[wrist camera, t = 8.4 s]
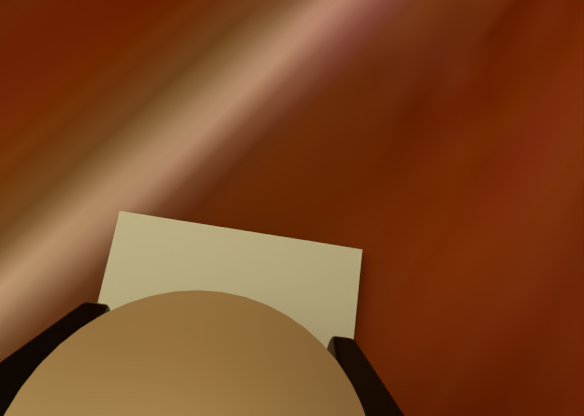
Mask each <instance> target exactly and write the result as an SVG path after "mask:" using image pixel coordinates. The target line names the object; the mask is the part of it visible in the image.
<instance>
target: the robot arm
mask: <svg viewBox="0 0 584 416" xmlns="http://www.w3.org/2000/svg"><path fill="white" fill-rule="evenodd" d="M109 311H110V308H109V306H108V305H106V304H101V303H94V302H85V303H83V304H81V305H79V306H78V307H77V308H75V309H74V310H73V311H71V312H70V313H68V314H67V315H66V316H64V317H63V318H61V319H60V320H59V321H57V322H56V323H54V324H53V325H52V326H50V327H49V328H48V329H46V330H45V331H43V332H42V333H41V334H39V335H38V336H36V337H35V338H34V339H32V340H31V341H29V342H28V343H27V344H25V345H24V346H22V347H21V348H20V349H18V350H17V351H16V352H14V353H13V354H11V355H10V356H9V357H7V358H6V359H4V360H3V361H2V362H0V416H4V415H5V413H6V411H7V409H8V408H9V406H10V405H11V403H12V401H13V400H14V398H15V397H16V395H17V393H18V392H19V390H20V389H21V387H22V386H23V385H24V383H25V382H26V381H27V380H28V378H29V377H30V376H31V375H32V373H33V372H34V371H35V370H36V368H37V367H38V366H39V365H40V364H41V363H42V362H43V361H44V360H45V359H46V358H47V357H48V356H49V355H50V354H51V353H52V352H53V351H54V350H55V349H56V348H57V347H58V346H59V345H60V344H61V343H62V342H64V341H65V340H66V339H67V338H69V337H70V336H71V335H73V334H74V333H75V332H76V331H78V330H79V329H80V328H82V327H83V326H85V325H87V324H88V323H90V322H91V321H93V320H95V319H96V318H98V317H100V316H101V315H103V314H105V313H107V312H109ZM327 350H328V351H329V352H330V353H331V355H332V356H333V357H334V358H335V359H336V361H337V362H338V363H339V365H340V366H341V368H342V369H343V371H344V373H345V374H346V376H347V377H348V379H349V380H350V382H351V384H352V386H353V388H354V390H355V392H356V394H357V396H358V398H359V400H360V403H361V405H362V408H363V410H364V413H365V416H404V414H403V413H402V411H401V410H400V408H399V407H398V405H397V404H396V402H395V401H394V399H393V398H392V396H391V395H390V393H389V392H388V390H387V389H386V387H385V386H384V384H383V383H382V381H381V379H380V378H379V376H378V375H377V373H376V372H375V370H374V369H373V367H372V366H371V364H370V363H369V361H368V360H367V358H366V357H365V355H364V354H363V352H362V351H361V349H360V348H359V346H358V345H357V343H356V342H355V341H354V340H353V339H352V338H347V337H340V336H333V337H332V338H331V339H330V341H329V344H328V347H327Z"/></svg>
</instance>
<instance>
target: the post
mask: <svg viewBox="0 0 584 416" xmlns="http://www.w3.org/2000/svg"><path fill="white" fill-rule="evenodd" d="M4 416H365V413H364V410H363V408H362V405H361V403H360V400H359V398H358V396H357V394H356V392H355V390H354V388H353V386H352V384H351V382H350V380H349V379H348V377H347V376H346V374H345V373H344V371H343V369H342V368H341V366H340V365H339V363H338V362H337V361H336V359H335V358H334V357H333V356H332V355H331V353H330V352H329V351H328V350H327V349H326V347H325V346H324V345H323V344H322V343H321V342H320V341H319V340H318V339H317V338H315V337H314V336H313V335H312V334H311V333H310V332H309V331H308V330H307V329H306V328H304V327H303V326H301V325H300V324H299V323H297V322H296V321H294V320H293V319H291V318H290V317H289V316H287V315H285V314H284V313H282V312H280V311H278V310H276V309H274V308H272V307H270V306H268V305H266V304H263V303H261V302H258V301H255V300H252V299H249V298H247V297H243V296H239V295H234V294H229V293H225V292H216V291H203V290H192V291H174V292H169V293H163V294H158V295H153V296H149V297H146V298H142V299H139V300H136V301H133V302H130V303H127V304H124V305H122V306H120V307H118V308H116V309H114V310H111V311H109V312H107V313H105V314H103V315H101V316H100V317H98V318H96V319H95V320H93V321H91V322H90V323H88V324H87V325H85V326H83V327H82V328H80V329H79V330H78V331H76V332H75V333H74V334H73V335H71V336H70V337H69V338H67V339H66V340H65V341H64V342H62V343H61V344H60V345H59V346H58V347H57V348H56V349H55V350H54V351H53V352H52V353H51V354H50V355H49V356H48V357H47V358H46V359H45V360H44V361H43V362H42V363H41V364H40V365H39V366H38V367H37V368H36V370H35V371H34V372H33V373H32V375H31V376H30V377H29V378H28V380H27V381H26V382H25V383H24V385H23V386H22V387H21V389H20V390H19V392H18V393H17V395H16V397H15V398H14V400H13V401H12V403H11V405H10V406H9V408H8V409H7V411H6V413H5V415H4Z"/></svg>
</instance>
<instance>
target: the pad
mask: <svg viewBox="0 0 584 416" xmlns="http://www.w3.org/2000/svg"><path fill="white" fill-rule="evenodd" d="M361 258H362V249H356V248H349V247H343V246H337V245H330V244H324V243H318V242H311V241H305V240H299V239H293V238H286V237H280V236H274V235H267V234H261V233H255V232H249V231H242V230H236V229H230V228H223V227H217V226H211V225H205V224H198V223H192V222H186V221H179V220H173V219H167V218H160V217H154V216H148V215H142V214H135V213H129V212H123V211H120V212H119V217H118V221H117V225H116V229H115V233H114V237H113V242H112V246H111V250H110V254H109V258H108V262H107V266H106V271H105V275H104V279H103V283H102V287H101V291H100V296H99V300H98V303H101V304H106V305H108V306H109V308H110V311H111V310H114V309H116V308H118V307H120V306H122V305H124V304H127V303H130V302H133V301H136V300H139V299H142V298H146V297H149V296H153V295H158V294H163V293H169V292H174V291H192V290H203V291H216V292H225V293H229V294H234V295H239V296H243V297H247V298H249V299H252V300H255V301H258V302H261V303H263V304H266V305H268V306H270V307H272V308H274V309H276V310H278V311H280V312H282V313H284V314H285V315H287V316H289V317H290V318H291V319H293V320H294V321H296V322H297V323H299V324H300V325H301V326H303V327H304V328H306V329H307V330H308V331H309V332H310V333H311V334H312V335H313V336H314V337H315V338H317V339H318V340H319V341H320V342H321V343H322V344H323V345H324V346H325V347H326V349H327V347H328V344H329V341H330V339H331V338H332V337H333V336H340V337H347V338H352V339H354V329H355V319H356V309H357V299H358V288H359V278H360V268H361Z"/></svg>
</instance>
